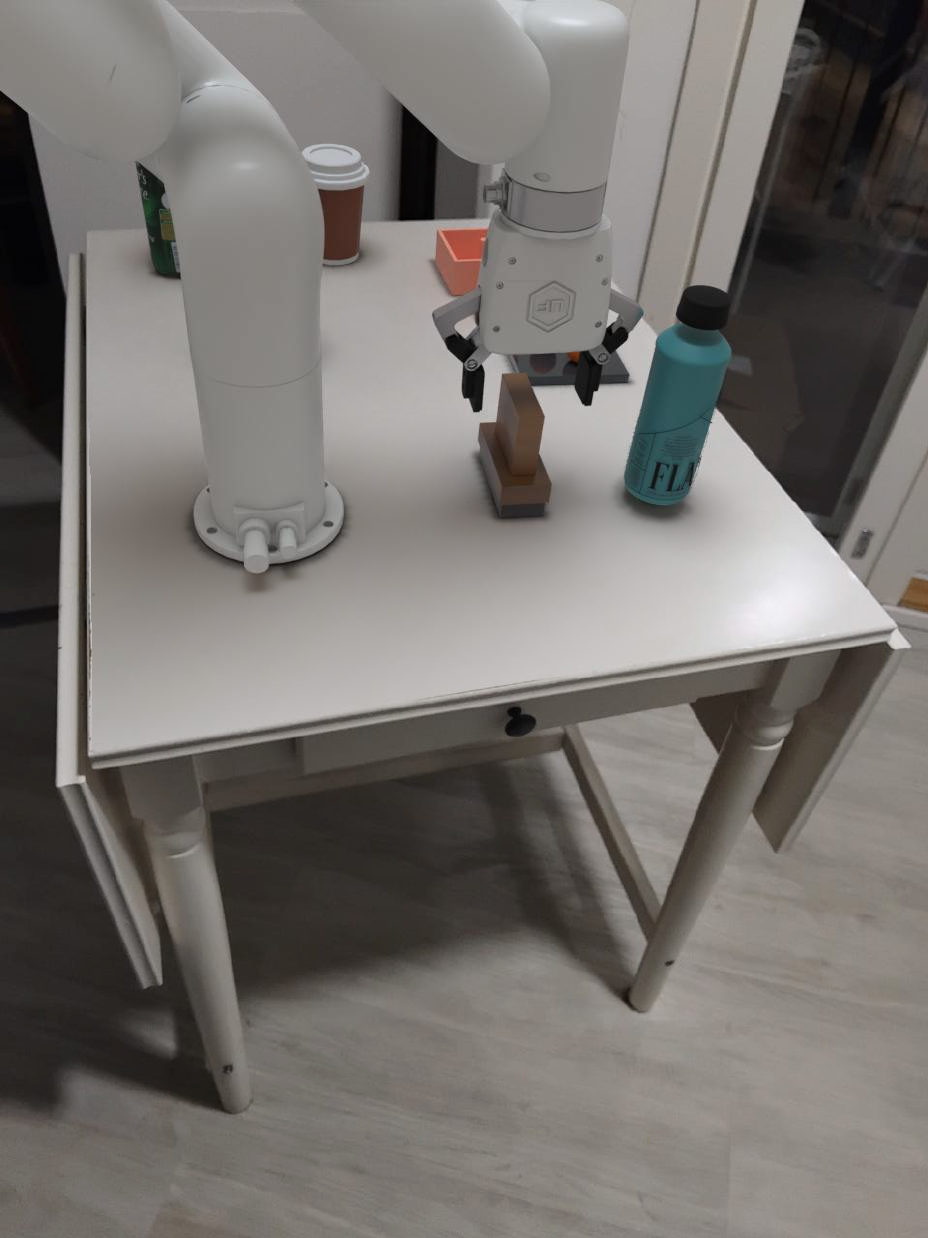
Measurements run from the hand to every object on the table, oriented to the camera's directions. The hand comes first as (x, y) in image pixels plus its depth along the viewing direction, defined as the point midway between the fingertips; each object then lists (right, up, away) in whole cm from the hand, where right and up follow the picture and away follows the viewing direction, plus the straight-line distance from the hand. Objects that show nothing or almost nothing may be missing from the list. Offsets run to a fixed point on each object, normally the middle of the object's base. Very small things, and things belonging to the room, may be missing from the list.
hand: (528, 400), depth 82 cm
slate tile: (+5, +11, +24) cm, 27 cm away
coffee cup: (-22, +27, +38) cm, 51 cm away
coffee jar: (-39, +24, +33) cm, 57 cm away
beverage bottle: (+12, -8, +7) cm, 16 cm away
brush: (-1, -6, +6) cm, 9 cm away
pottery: (-3, +21, +33) cm, 39 cm away
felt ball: (+7, +10, +20) cm, 24 cm away
